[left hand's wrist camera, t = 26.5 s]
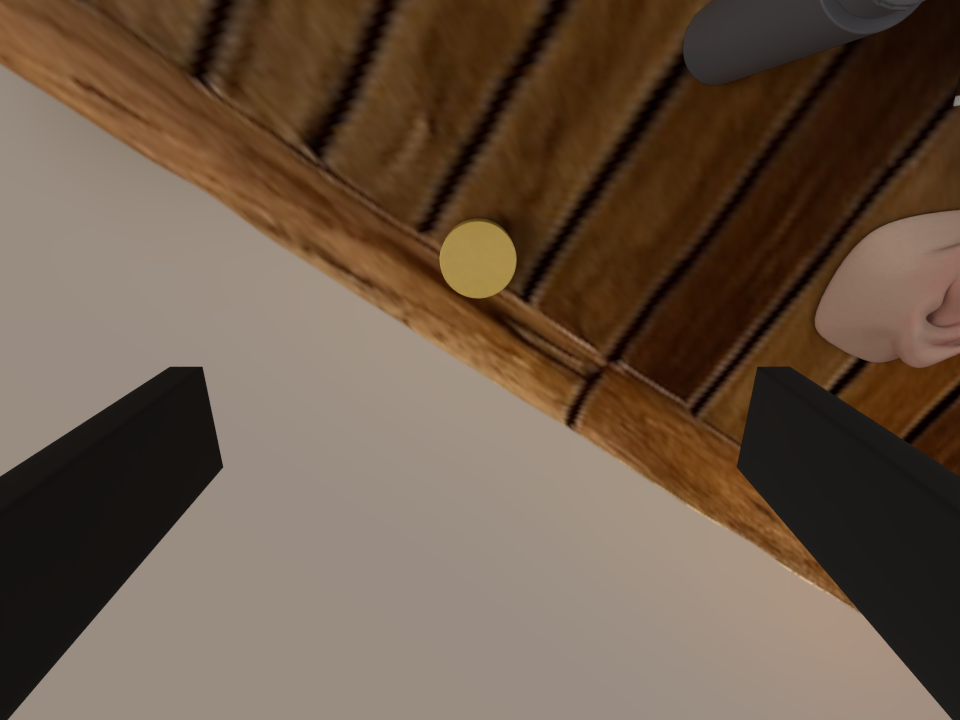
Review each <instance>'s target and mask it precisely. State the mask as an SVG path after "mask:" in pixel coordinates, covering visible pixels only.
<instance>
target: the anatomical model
mask: <svg viewBox="0 0 960 720" xmlns="http://www.w3.org/2000/svg"><path fill="white" fill-rule="evenodd" d="M815 327H816V329H817V331H818V333H819V334H820V335H821V336H822V337H823V338H825V339H826V340H827V341H828V342H830V343H831V344H833V345H835V346H836V347H838V348H840V349H841V350H843V351H845V352H847V353H848V354H850V355H853V356H856V357H858V358H861V359H864V360H867V361H870V362H887V361H891V360H894V359H897V358H900V359H901V360H902V361H903V362H905V363H906V364H908V365H910V366H912V367H917V368H922V367H927V366H930V365H933V364H936V363H938V362H940V361H942V360H945V359H947V358H949V357H952V356H954V355H956V354H959V353H960V210H954V211H945V212H937V213H930V214H924V215H919V216H913V217H909V218H905V219H901V220H897V221H894V222H891V223H888V224H886V225H884V226H881V227H880V228H878V229H876V230H874V231H873V232H871V233H870V234H868V235H867V236H866V237H865V238H864V239H862V240H861V241H860V242H859V243H858V244H857V245H856V246H855V247H854V248H853V250H852V251H851V252H850V253H849V254H848V256H847V257H846V258H845V260H844V261H843V262H842V264H841V265H840V267H839V268H838V270H837V271H836V273H835V275H834V276H833V278H832V280H831V281H830V283H829V285H828V287H827V289H826V291H825V292H824V294H823V296H822V299H821V301H820V303H819V306H818V308H817V311H816V316H815Z"/></svg>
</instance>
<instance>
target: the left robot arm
mask: <svg viewBox="0 0 960 720" xmlns="http://www.w3.org/2000/svg"><path fill="white" fill-rule="evenodd" d="M222 468H223V464H222V459H221V454H220V450H219V445H218V440H217V435H216V430H215V425H214V420H213V415H212V411H211V406H210V401H209V396H208V391H207V386H206V382H205V377H204V372H203V367H169V368H167V369H166V370H164V371H163V372H161V373H160V374H158V375H157V376H155V377H154V378H152V379H150V380H149V381H147V382H146V383H144V384H143V385H141V386H140V387H138V388H137V389H135V390H133V391H132V392H130V393H129V394H127V395H126V396H124V397H123V398H121V399H120V400H118V401H116V402H115V403H113V404H112V405H110V406H109V407H107V408H106V409H104V410H103V411H101V412H99V413H98V414H96V415H95V416H93V417H92V418H90V419H89V420H87V421H85V422H84V423H82V424H81V425H79V426H78V427H76V428H75V429H73V430H72V431H70V432H69V433H67V434H65V435H64V436H62V437H61V438H59V439H58V440H56V441H55V442H53V443H51V444H50V445H48V446H47V447H45V448H44V449H42V450H41V451H39V452H38V453H36V454H34V455H33V456H31V457H30V458H28V459H27V460H25V461H24V462H22V463H21V464H19V465H17V466H16V467H14V468H13V469H11V470H10V471H8V472H7V473H5V474H4V475H2V476H0V720H8V719H9V717H10V716H11V715H12V714H13V713H14V712H15V710H16V709H17V708H18V707H19V706H20V705H21V703H22V702H23V701H24V700H25V699H26V697H27V696H28V695H29V694H30V693H31V692H32V690H33V689H34V688H35V687H36V686H37V685H38V683H39V682H40V681H41V680H42V679H43V678H44V676H45V675H46V674H47V673H48V672H49V671H50V669H51V668H52V667H53V666H54V665H55V664H56V662H57V661H58V660H59V659H60V658H61V657H62V655H63V654H64V653H65V652H66V651H67V649H68V648H69V647H70V646H71V645H72V644H73V643H74V641H75V640H76V639H77V638H78V637H79V635H80V634H81V633H82V632H83V631H84V630H85V628H86V627H87V626H88V625H89V624H90V623H91V621H92V620H93V619H94V618H95V617H96V616H97V614H98V613H99V612H100V611H101V610H102V609H103V607H104V606H105V605H106V604H107V603H108V602H109V600H110V599H111V598H112V597H113V596H114V594H115V593H116V592H117V591H118V590H119V589H120V587H121V586H122V585H123V584H124V583H125V582H126V580H127V579H128V578H129V577H130V576H131V575H132V573H133V572H134V571H135V570H136V569H137V568H138V566H139V565H140V564H141V563H142V562H143V560H144V559H145V558H146V557H147V556H148V555H149V553H150V552H151V551H152V550H153V549H154V548H155V546H156V545H157V544H158V543H159V542H160V541H161V539H162V538H163V537H164V536H165V535H166V534H167V532H168V531H169V530H170V529H171V528H172V527H173V525H174V524H175V523H176V522H177V521H178V520H179V518H180V517H181V516H182V515H183V514H184V513H185V511H186V510H187V509H188V508H189V507H190V505H191V504H192V503H193V502H194V501H195V500H196V498H197V497H198V496H199V495H200V494H201V493H202V491H203V490H204V489H205V488H206V487H207V485H208V484H209V483H210V482H211V481H212V480H213V479H214V477H215V476H216V475H217V474H218V473H219V472H220V470H221V469H222ZM737 468H738V469H739V470H740V472H741V473H742V474H743V475H744V476H745V477H746V479H747V480H748V481H749V482H750V483H751V484H752V486H753V487H754V488H755V489H756V490H757V491H758V493H759V494H760V495H761V496H762V497H763V498H764V500H765V501H766V502H767V503H768V504H769V505H770V507H771V508H772V509H773V510H774V511H775V513H776V514H777V515H778V516H779V517H780V518H781V520H782V521H783V522H784V523H785V524H786V525H787V527H788V528H789V529H790V530H791V531H792V532H793V534H794V535H795V536H796V537H797V538H798V539H799V541H800V542H801V543H802V544H803V545H804V546H805V548H806V549H807V550H808V551H809V552H810V553H811V555H812V556H813V557H814V558H815V559H816V561H817V562H818V563H819V564H820V565H821V566H822V568H823V569H824V570H825V571H826V572H827V573H828V575H829V576H830V577H831V578H832V579H833V580H834V582H835V583H836V584H837V585H838V586H839V587H840V589H841V590H842V591H843V592H844V593H845V594H846V596H847V597H848V598H849V599H850V600H851V602H852V603H853V604H854V605H855V606H856V607H857V609H858V610H859V611H860V612H861V613H862V614H863V616H864V617H865V618H866V619H867V620H868V621H869V623H870V624H871V625H872V626H873V627H874V628H875V630H876V631H877V632H878V633H879V634H880V635H881V637H882V638H883V639H884V640H885V641H886V642H887V644H888V645H889V646H890V647H891V648H892V649H893V651H894V652H895V653H896V654H897V655H898V657H899V658H900V659H901V660H902V661H903V662H904V664H905V665H906V666H907V667H908V668H909V669H910V671H911V672H912V673H913V674H914V675H915V676H916V678H917V679H918V680H919V681H920V682H921V684H922V685H923V686H924V687H925V688H926V689H927V691H928V692H929V693H930V694H931V695H932V696H933V698H934V699H935V700H936V701H937V702H938V703H939V705H940V706H941V707H942V708H943V709H944V710H945V712H946V713H947V714H948V715H949V716H950V717H951V719H952V720H960V476H958V475H956V474H955V473H953V472H952V471H950V470H949V469H947V468H946V467H944V466H943V465H941V464H939V463H938V462H936V461H935V460H933V459H932V458H930V457H929V456H927V455H926V454H924V453H922V452H921V451H919V450H918V449H916V448H915V447H913V446H912V445H910V444H909V443H907V442H905V441H904V440H902V439H901V438H899V437H898V436H896V435H895V434H893V433H892V432H890V431H888V430H887V429H885V428H884V427H882V426H881V425H879V424H878V423H876V422H875V421H873V420H871V419H870V418H868V417H867V416H865V415H864V414H862V413H861V412H859V411H858V410H856V409H854V408H853V407H851V406H850V405H848V404H847V403H845V402H844V401H842V400H840V399H839V398H837V397H836V396H834V395H833V394H831V393H830V392H828V391H827V390H825V389H823V388H822V387H820V386H819V385H817V384H816V383H814V382H813V381H811V380H810V379H808V378H806V377H805V376H803V375H802V374H800V373H799V372H797V371H796V370H794V369H793V368H791V367H757V372H756V377H755V382H754V386H753V391H752V396H751V401H750V406H749V411H748V415H747V420H746V425H745V430H744V435H743V440H742V445H741V449H740V454H739V459H738V464H737Z"/></svg>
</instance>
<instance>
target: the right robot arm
mask: <svg viewBox="0 0 960 720" xmlns="http://www.w3.org/2000/svg"><path fill="white" fill-rule="evenodd" d="M953 106H960V77H959V81H958V86H957V90H956V95H955V100H954V105H953Z"/></svg>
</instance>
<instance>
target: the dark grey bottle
mask: <svg viewBox="0 0 960 720" xmlns="http://www.w3.org/2000/svg"><path fill="white" fill-rule="evenodd" d="M923 1H925V0H713V1H712V2H711V3H709V4H708V5H706V6H705V7H704V8H702V9H701V10H700V11H699V12H698V13H697V14H696V15H695V17H694V18H693V20H692V21H691V23H690V25H689V26H688V29H687V31H686V34H685V38H684V45H683V54H684V60H685V63H686V66H687V68H688V70H689V71H690V73H691V74H692V75H693V76H694V77H695V78H696V79H697V80H699V81H700V82H702V83H704V84H708V85H723V84H726V83H729V82H732V81H735V80H738V79H741V78H744V77H747V76H750V75H753V74H756V73H759V72H762V71H765V70H768V69H771V68H774V67H777V66H780V65H783V64H786V63H789V62H792V61H795V60H798V59H801V58H803V57H806V56H809V55H812V54H815V53H818V52H821V51H824V50H827V49H830V48H833V47H836V46H839V45H842V44H845V43H848V42H851V41H854V40H857V39H860V38H863V37H866V36H869V35H872V34H875V33H878V32H881V31H883V30H886V29H888V28H890V27H892V26H894V25H896V24H898V23H899V22H901V21H902V20H904V19H905V18H906V17H907V16H909V15H910V14H911V13H912V12H913V11H914V10H915V9H916V8H917V7H918V6H919V5H920V3H921V2H923Z"/></svg>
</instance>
